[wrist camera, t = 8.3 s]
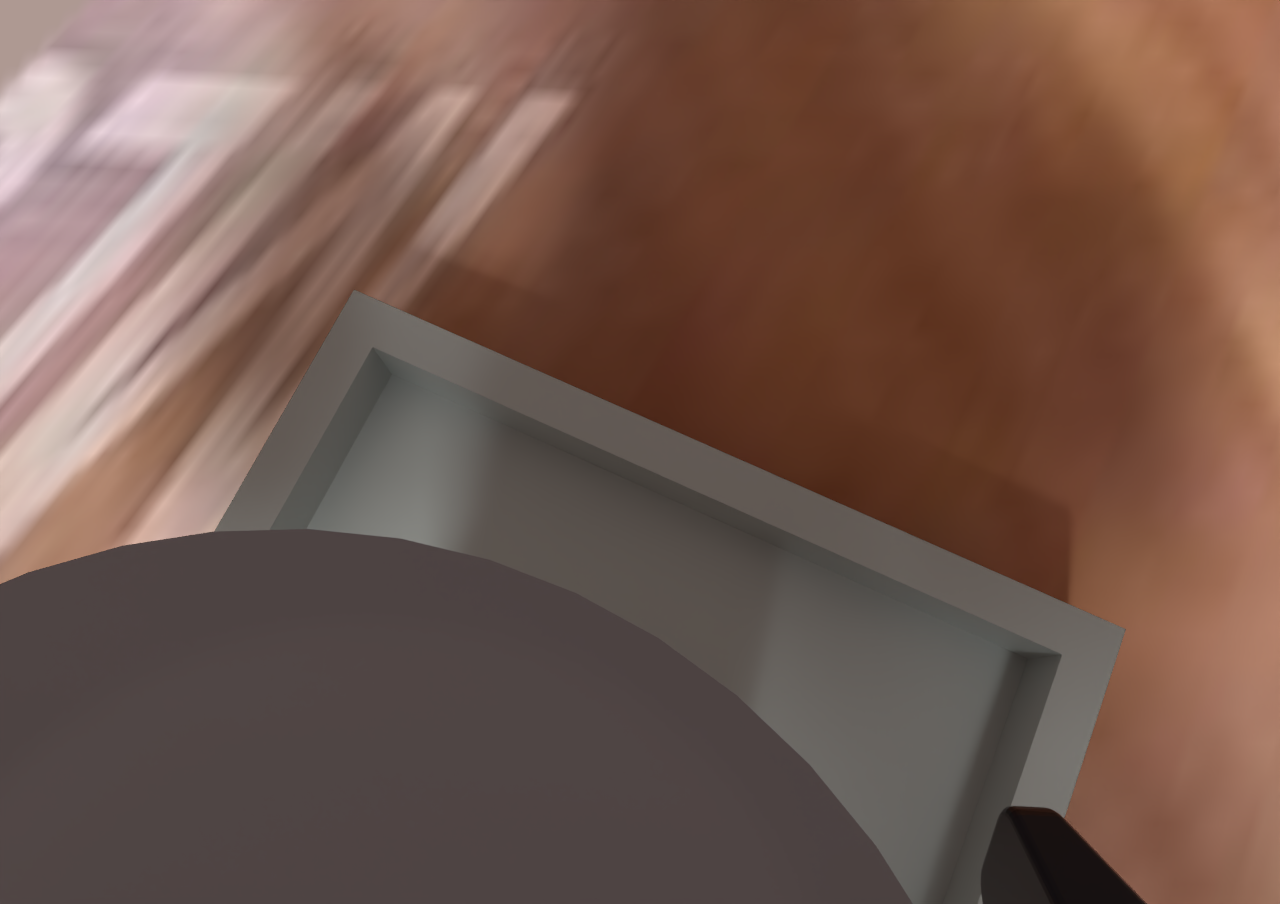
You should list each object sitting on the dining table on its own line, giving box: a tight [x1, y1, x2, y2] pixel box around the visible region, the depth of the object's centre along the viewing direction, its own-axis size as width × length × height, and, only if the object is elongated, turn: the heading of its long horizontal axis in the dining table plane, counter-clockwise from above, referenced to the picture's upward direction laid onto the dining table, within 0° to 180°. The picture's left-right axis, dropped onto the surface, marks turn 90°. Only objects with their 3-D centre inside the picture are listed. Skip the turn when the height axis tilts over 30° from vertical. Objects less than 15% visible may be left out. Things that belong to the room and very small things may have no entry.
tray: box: [214, 290, 1126, 904], centre depth 16 cm, size 14×14×2 cm
